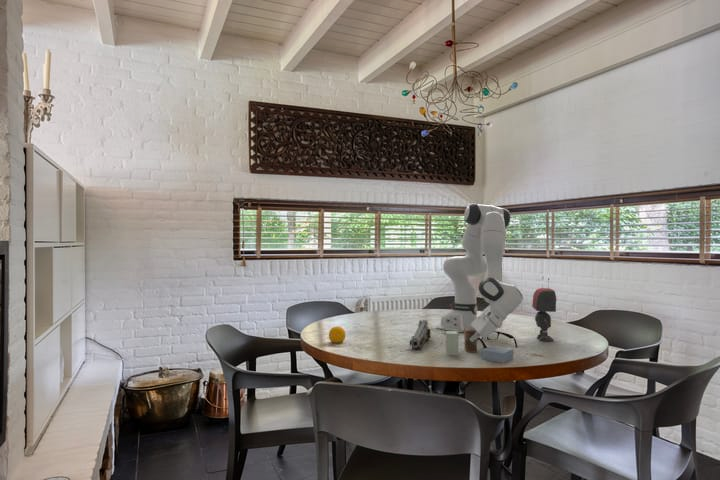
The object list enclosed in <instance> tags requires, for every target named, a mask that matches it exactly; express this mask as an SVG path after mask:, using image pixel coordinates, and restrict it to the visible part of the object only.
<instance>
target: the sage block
mask: <svg viewBox="0 0 720 480" xmlns="http://www.w3.org/2000/svg"><path fill="white" fill-rule="evenodd" d="M445 354H446V355H447V356H459V332H457V331H449V330H445Z"/></svg>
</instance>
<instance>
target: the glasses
mask: <svg viewBox="0 0 720 480" xmlns="http://www.w3.org/2000/svg"><path fill="white" fill-rule="evenodd" d="M493 333H496V334H497V335H496V336H497V338H493V339H491V338H489V336H488V337H487V338H486V339H487V340H492V341H493V340H495V341H496V340H498V338H499V337H500V335H502V336H504V337H507V338H509V339H513V341H514V345H515V346H514V347H515V348H518V343H517V340H516V338H515V337H514V336H513V335H512V334H510V333H506V332H502V331H498V330H497V331H496V330H495V331H494V332H493ZM477 341H480V342H481V344H482V346H483V349H485V348H487V345H486V343H485V342H484V339H483V338H482V337H481V338H480V337H479V338H477Z"/></svg>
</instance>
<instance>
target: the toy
mask: <svg viewBox="0 0 720 480" xmlns="http://www.w3.org/2000/svg"><path fill="white" fill-rule="evenodd" d="M429 339H431V329H430V328H429V326H428V320H427V319H422V320H421V319H419V321H418V326H417V329H416V330H415V332H414V335H412V336H411V339H410V341H409V346H411V348H412V349H416V350H417V349H418V350H419V349H421V347H423V345H424V344H425V341H428V340H429Z"/></svg>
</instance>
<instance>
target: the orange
mask: <svg viewBox="0 0 720 480" xmlns="http://www.w3.org/2000/svg"><path fill="white" fill-rule="evenodd" d="M328 332H329V333H328V339H329V340H330V342H331V343H334V344H341V343H343V342H344V341H346V337H347V336H346V330H345V329H344V328H343V327H341V326H333V327H331V329H330V330H329V331H328Z"/></svg>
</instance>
